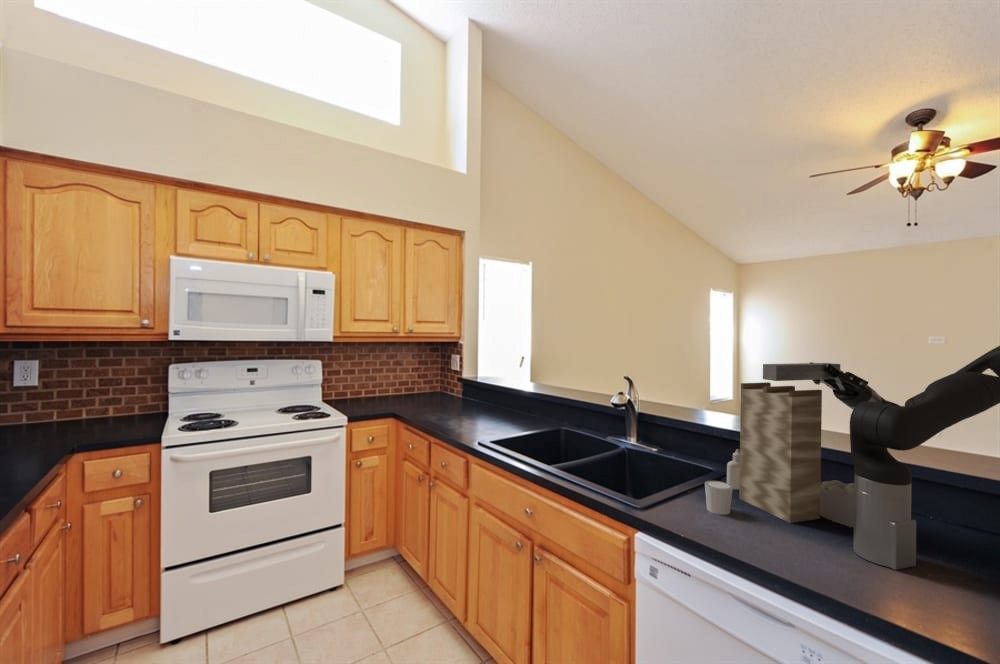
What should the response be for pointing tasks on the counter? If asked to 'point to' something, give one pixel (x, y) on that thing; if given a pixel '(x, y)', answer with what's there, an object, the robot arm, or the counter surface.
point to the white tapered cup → (718, 497)
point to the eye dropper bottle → (734, 471)
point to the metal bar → (797, 371)
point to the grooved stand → (781, 450)
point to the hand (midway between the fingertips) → (817, 366)
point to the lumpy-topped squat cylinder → (837, 502)
